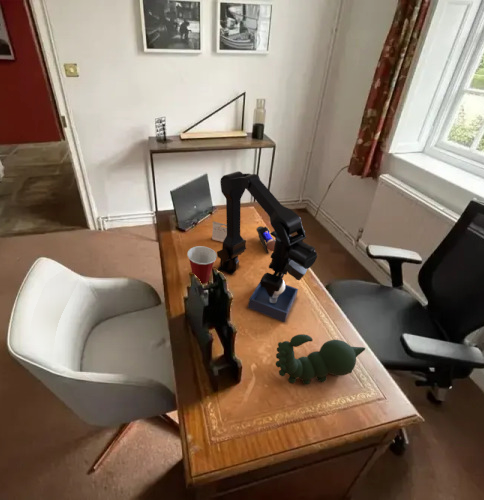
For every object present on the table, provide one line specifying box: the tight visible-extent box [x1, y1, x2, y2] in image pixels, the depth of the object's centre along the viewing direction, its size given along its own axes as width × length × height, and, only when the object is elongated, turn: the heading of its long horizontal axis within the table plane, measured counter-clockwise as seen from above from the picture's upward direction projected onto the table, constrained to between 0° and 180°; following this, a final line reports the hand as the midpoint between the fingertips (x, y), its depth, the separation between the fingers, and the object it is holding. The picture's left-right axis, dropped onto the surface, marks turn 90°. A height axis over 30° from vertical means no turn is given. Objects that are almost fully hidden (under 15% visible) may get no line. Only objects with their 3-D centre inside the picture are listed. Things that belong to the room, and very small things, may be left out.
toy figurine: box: [275, 333, 366, 386], centre depth 85 cm, size 9×19×25 cm
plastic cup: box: [186, 245, 218, 285], centre depth 118 cm, size 11×11×12 cm
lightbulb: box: [269, 279, 287, 303], centre depth 109 cm, size 6×6×11 cm
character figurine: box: [256, 226, 275, 254], centre depth 138 cm, size 8×7×15 cm
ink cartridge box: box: [211, 221, 227, 243], centre depth 139 cm, size 2×11×10 cm, turn 67°
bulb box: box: [247, 282, 299, 323], centre depth 111 cm, size 13×13×4 cm
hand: (275, 288), depth 108 cm, fingers open, 9 cm apart
